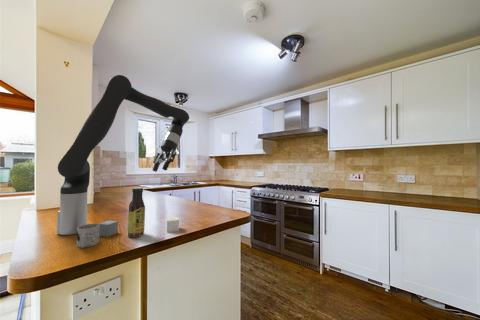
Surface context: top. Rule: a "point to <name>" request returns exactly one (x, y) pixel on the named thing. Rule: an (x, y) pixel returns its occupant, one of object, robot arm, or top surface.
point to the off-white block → (172, 224)
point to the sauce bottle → (136, 214)
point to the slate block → (108, 228)
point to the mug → (87, 235)
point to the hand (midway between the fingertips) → (159, 170)
